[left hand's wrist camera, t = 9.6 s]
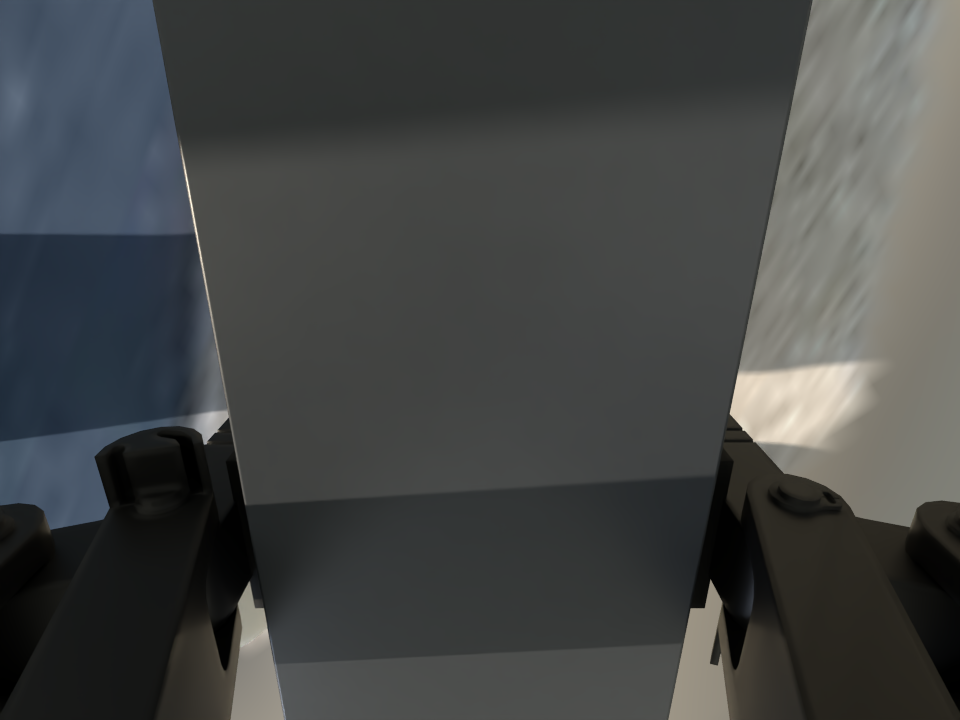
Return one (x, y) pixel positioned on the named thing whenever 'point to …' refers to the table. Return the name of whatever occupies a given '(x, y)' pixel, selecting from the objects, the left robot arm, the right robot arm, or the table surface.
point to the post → (479, 328)
